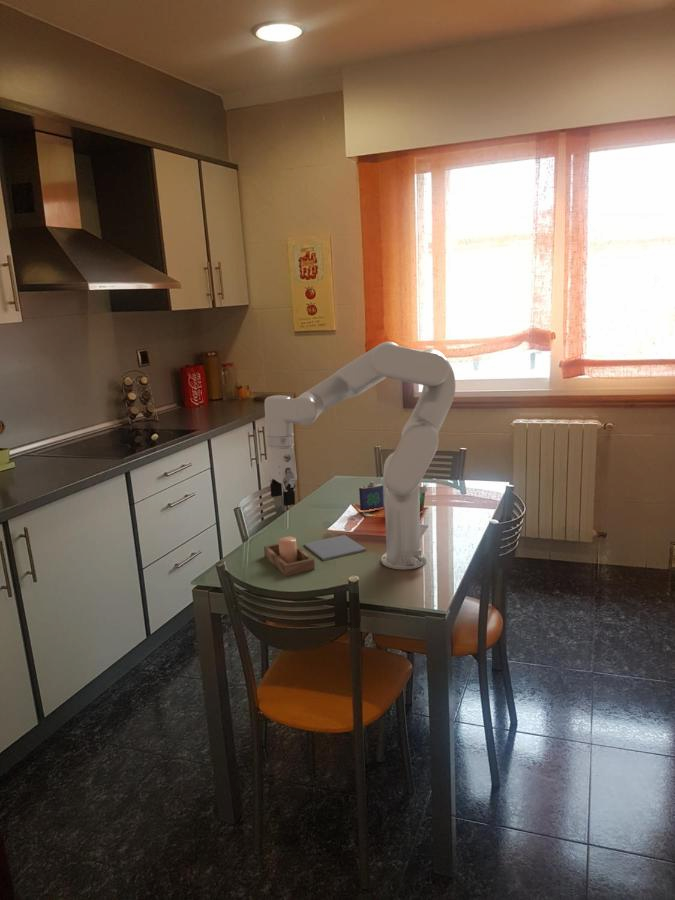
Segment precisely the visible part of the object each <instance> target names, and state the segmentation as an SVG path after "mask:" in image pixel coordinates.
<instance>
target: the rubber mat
mask: <svg viewBox="0 0 675 900" xmlns="http://www.w3.org/2000/svg"><path fill="white" fill-rule="evenodd" d="M303 546H304V547H305V548H306V549H308V550H309V551H310V552H312V553H313V554H314V555H315V556H317V557H318V558H319V559H321V560H322V561H327V560H331V559H332V560H333V559H336V558H340V557H345V556H349V555H354V554H356V553H361V552H366V551H367V548H366V547H365V546H362V545H361V544H360V543H358V542H356V541H355V540H353V539H351V538H350V537H349V536H347V535H346V534H343V535H338V536H333V537H329V538H324V539H319V540H314V541H311V542H305V543H303Z"/></svg>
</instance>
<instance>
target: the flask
mask: <svg viewBox="0 0 675 900" xmlns="http://www.w3.org/2000/svg"><path fill="white" fill-rule="evenodd" d="M358 490H359V509H360V510H369V509H374V508H380V507H384V508H385V491H384V483H383V484H382V483H378V484H375V482H374V481H373V480H372V481H371V480H370V483H369V484H368V485H367V484H366V485H362V486H360V487H359V489H358Z"/></svg>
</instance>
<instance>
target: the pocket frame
mask: <svg viewBox="0 0 675 900" xmlns="http://www.w3.org/2000/svg"><path fill="white" fill-rule="evenodd" d="M263 552H264V553H263V554H264V557H265V558H266V559H267V560H268V561H269V562H270V563H271V564H272V565H274V567H275V568H276V569H278V570H279V571H280V572H281V573H282V574H283V576H285V577H288V576H292V575H297V574H301V573H304V572H310V571H313V570H315V558H313V557H312V556H311V555H309V553H307V552H306V551H304V550H303V549H302V548H301V547H299V546H298V545H297V560H298V562H293V563H289V564H287V563H286V562H285V561H283V560H282V559H281V558H280V554H279V542H278V543H274V544H269V545H265V546H263Z"/></svg>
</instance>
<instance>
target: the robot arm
mask: <svg viewBox="0 0 675 900" xmlns="http://www.w3.org/2000/svg"><path fill="white" fill-rule="evenodd" d="M386 379H392V380H395V381H401V382H405V383H411V384H415V385H421V386H422V390H421V393H420V395H419V398H418V400H417V402H416V404H415V406H414V408H413V409H412V410H413V411H412V412H411V414H410V417H409V418H408V420H407V421H406V423H404V426H403V428H402V430H401V438H400V440H399V443H398V444H397V446H396V449H395V451H393V452H392V453H390V454H389V456H387V457H386V458H385V461H384V464H383V472H382V473H383V475H382V476H383V477H382V478H383V485H384V514H385V515H384V518H385V546H386V552H385V553H384V554H382V556H381V559H380V561H381V562H380V563H381V564H382V565H383V566H385V567H386V568H390V569H393V570H405V571H406V570H414V569H417V568H420V567H423V566H424V565H425V564H426V563H427V555H425V553H423V552H422V548H421V518H420V517H421V515H420V496H419V487H420V483H421V482H422V480H423V478H424V476H425V475H426V473H427V470H428V468H429V467H430V464H431V462H432V461H433V458H434V456H435V454H436V453H437V450H438V448H439V443H440V438H439V437H440V436H439V432H440V430H441V427H442V426H443V423H444V421H445V420H446V418H447V415H448V413H449V411H450V408H451V406H452V404H453V402H454V398H455V395H456V377H455V372H454V369H453V367H452V365H451V364H450V362H449V360H448V359H447V357H446V356H445V355H444V353H443V352H441V351H439V350H438V349H433V348H432V349H431V348H430V349H427V350H426V349H425V350H420V349H416V348H415V349H414V348H410V347H406V346H403V345H402V346H400V345H399V344H397V343H396V342H393V341H384V342H381V343H379V344H377V345H376V346H374V347H373V348H371V349H369V350H368V351H366V352H364V354H361V355H360V356H358V357H357V358H355V359H353V360H352V361H351V362H349V363H347V364H345V365H343V366H342V367H341V368H339V369H338V370H337V371H335V372H334V373H333V374H331V375H330V376H329V377H327V378H325V379H324V380H322V381H320V382H319V383H317V384H316V385H314V386H313V387H311V388H309V389H308V390H306V391H305V392H303V393H302V394H300V395H299V396H298V397H293V398H292V397H291V396H288V395H286V394H285V395H283V394H282V395H280V394H276V395H275V394H274V395H270V396H267V397H266V398H265V400H264V417H265V418H264V419H265V420H264V421H265V424H264V425H265V442H266V447H267V448H268V459H267V460H268V475H269V483H270V486H269V487H270V496H271V498H275V497H281V496H282V497H283V498H282V500H283V506H285V507H288V506H293V505H296V494H295V491H296V482H297V480H298V474H297V473H298V472H297V465H296V455H295V451H294V450H295V449H294V447H295V438H294V437H295V436H294V435H295V434H294V424H295V425H296V424H297V425H310V424H312V423H314V422H315V421H316V420H317V419H318V417H319V416H320V415H321V414H323V413H324V412H325V411H327V410H329V409H330V408H332V407H334V406H335V405H337V404H338V403H340V402H342V401H345V400H347V399H351V398H355V397H357V396H359V395H361V394H363V393H364V392H366V391H367V390H369V389H370V388H372V387H374V386H375V385H377V384H378V383H380V382H382V381H384V380H386Z"/></svg>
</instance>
